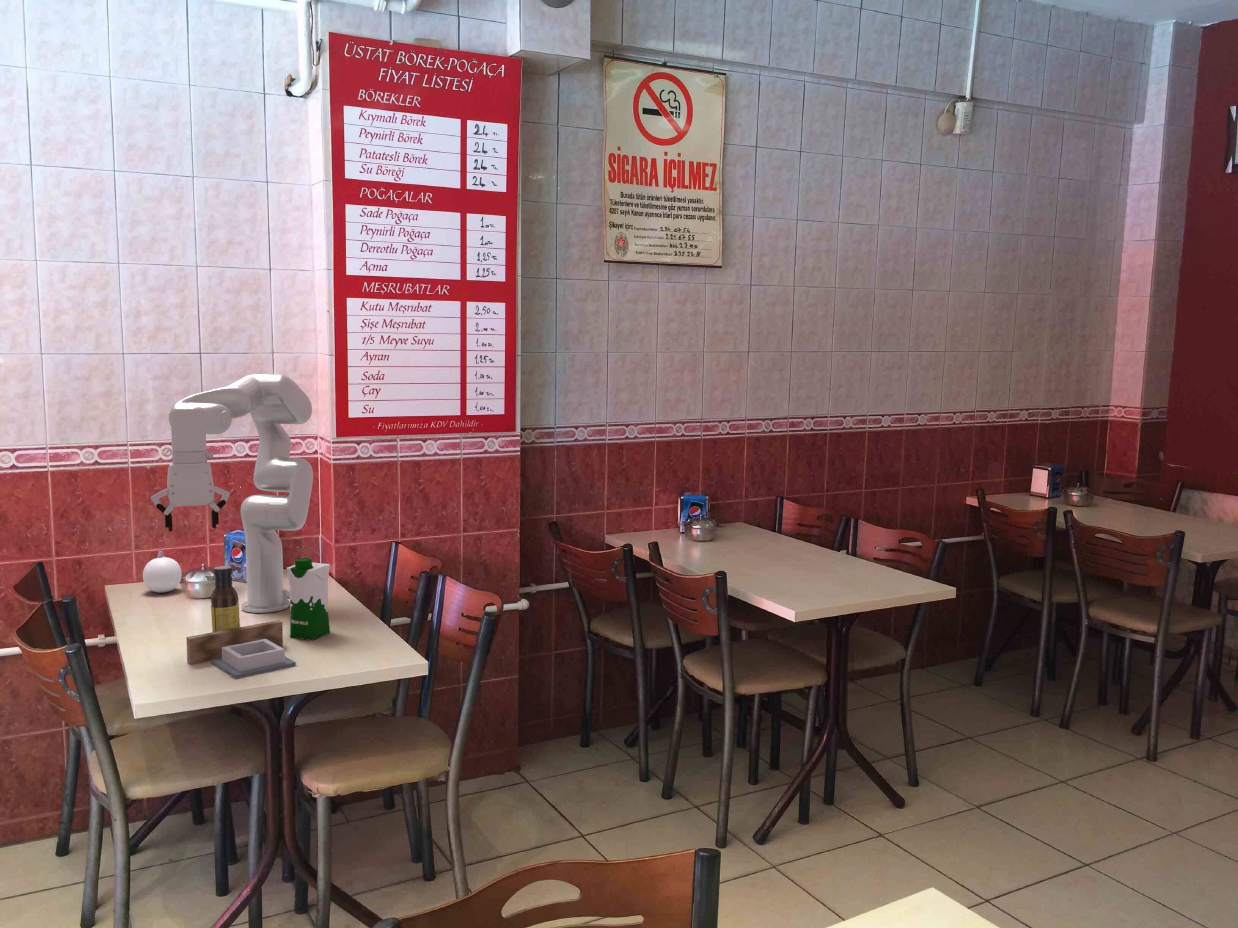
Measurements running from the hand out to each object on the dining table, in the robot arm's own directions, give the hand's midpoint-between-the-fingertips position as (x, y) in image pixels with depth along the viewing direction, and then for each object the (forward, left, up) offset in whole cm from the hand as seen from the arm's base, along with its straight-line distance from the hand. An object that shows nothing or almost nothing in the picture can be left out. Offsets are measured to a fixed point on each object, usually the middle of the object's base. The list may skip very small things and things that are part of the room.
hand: (192, 528), depth 239 cm
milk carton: (-25, +9, -29) cm, 39 cm away
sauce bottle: (-5, +6, -29) cm, 30 cm away
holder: (-5, +22, -29) cm, 37 cm away
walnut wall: (-5, +12, -29) cm, 32 cm away
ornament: (-11, -58, -29) cm, 66 cm away
